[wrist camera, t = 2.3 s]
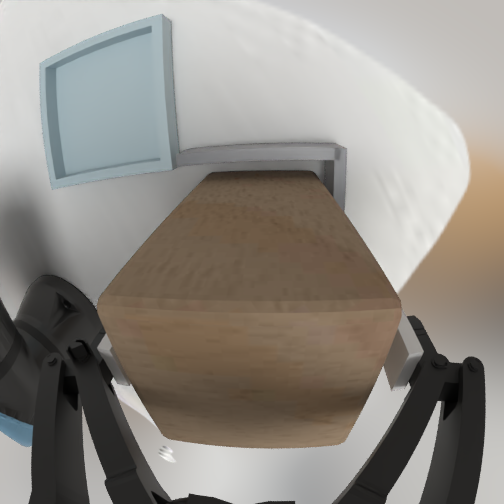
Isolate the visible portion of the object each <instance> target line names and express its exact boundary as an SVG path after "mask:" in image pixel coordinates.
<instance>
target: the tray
mask: <svg viewBox="0 0 504 504" xmlns="http://www.w3.org/2000/svg"><path fill="white" fill-rule="evenodd" d="M40 107H41V120H42V131H43V139H44V147H45V154H46V160H47V167H48V172H49V178H50V183H51V188H52V190H53V189H58V188H62V187H67V186H72V185H77V184H82V183H87V182H93V181H99V180H104V179H110V178H117V177H123V176H130V175H137V174H144V173H152V172H160V171H169V170H173V169H175V168H177V161H176V154H178V153H179V144H178V134H177V123H176V111H175V98H174V82H173V64H172V37H171V21H170V20H169V19H168V18H167V17H165V16H164V15H163V14H160V15H156V16H152V17H149V18H145V19H142V20H139V21H135V22H132V23H129V24H126V25H123V26H120V27H117V28H115V29H112V30H109V31H106V32H104V33H101V34H99V35H96V36H94V37H92V38H89V39H87V40H85V41H82V42H80V43H78V44H76V45H74V46H72V47H70V48H67V49H65V50H63V51H61V52H60V53H58V54H56V55H54V56H52V57H50V58H48V59H46V60H45V61H43V62H41V63H40Z"/></svg>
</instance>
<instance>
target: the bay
mask: <svg viewBox="0 0 504 504" xmlns="http://www.w3.org/2000/svg"><path fill="white" fill-rule="evenodd" d="M266 160H325V187H326V188H327V190H328V191H329V192H330V194H331V195H332V197H333V198H334V199H335V201H336V202H337V203H338V205H339V206H340V208H341V209H342V210H343V212H344V209H345V191H346V164H347V148H345V147H342V146H340V145H338V144H334V143H263V144H241V145H226V146H213V147H202V148H192V149H188V150H185V151H183V152H181V153H178V154H176V161H177V167H178V166H188V165H199V164H211V163H225V162H242V161H266Z"/></svg>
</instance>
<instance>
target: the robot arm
mask: <svg viewBox="0 0 504 504" xmlns="http://www.w3.org/2000/svg"><path fill="white" fill-rule="evenodd" d="M383 366H384V369H385V372H386V375H387V378H388V382H389V385H390V388H391V391H395V390H400V389H405V387H406V386H407V384H408V382H409V383H410V386H411V389H410V391H409V392H408V394H407V396H406V397H405V399H404V402H403V403H402V405H401V407H400V409H399V411H398V412H397V414H396V416H395V418H394V419H393V421H392V423H391V424H390V426H389V428H388V430H387V431H386V433H385V434H384V436H383V437H382V439H381V440H380V442H379V444H378V445H377V447H376V448H375V450H374V451H373V452H372V454H371V455H370V457H369V458H368V460H367V461H366V462H365V464H364V465H363V466H362V468H361V469H360V471H359V472H358V473H357V475H356V476H355V477H354V479H353V480H352V481H351V482H350V483H349V485H348V486H347V487H346V489H345V490H344V491H343V492H342V493H341V494H340V495H339V497H338V498H337V499H336V500H335V501H334V502H333V503H332V504H385V502H386V499H387V495H388V493H389V492H390V490H391V489H392V487H393V486H394V484H395V483H396V481H397V480H398V478H399V476H400V475H401V473H402V471H403V470H404V468H405V466H406V465H407V463H408V461H409V459H410V458H411V456H412V454H413V452H414V450H415V448H416V446H417V445H418V443H419V441H420V439H421V436H422V435H423V432H424V430H425V428H426V426H427V424H428V422H429V420H430V417H431V415H432V413H433V411H434V408H435V406H436V403H437V401H442V402H441V410H440V417H439V424H438V431H437V437H436V442H435V447H434V452H433V456H432V461H431V465H430V469H429V473H428V477H427V480H426V484H425V487H424V491H423V494H422V497H421V500H420V503H419V504H474V503H475V498H476V494H477V489H478V483H479V478H480V472H481V465H482V456H483V447H484V435H485V375H484V366H483V364H482V362H481V361H480V360H479V359H478V358H475V357H467V358H466V359H465V360H464V361H463V363H451V362H449V361H448V359H447V358H446V357H445V356H443V355H442V354H438V353H437V352H436V349H435V347H434V346H433V343H432V342H431V340H430V338H429V336H428V335H427V332H426V330H425V329H424V326H423V325H422V323H421V321H420V320H419V319H418V318H416V317H415V316H406V315H405V313H404V311H403V309H402V317H401V320H400V323H399V326H398V329H397V332H396V334H395V337H394V340H393V342H392V345H391V347H390V350H389V352H388V355H387V357H386V360H385V362H384V364H383ZM113 377H114V379H115V381H116V382H117V384H122V385H127V386H130V384H131V382H130V380H129V378H128V377H127V375H126V373H125V371H124V369H123V367H122V365H121V363H120V361H119V359H118V357H117V355H116V353H115V351H114V349H113V347H112V345H111V342H110V340H109V338H108V336H107V334H106V332H105V329H104V327H103V325H102V322H101V320H100V318H99V315H98V313H97V311H96V310H95V308H94V307H93V305H92V304H91V303H90V302H89V300H88V299H87V298H86V297H85V296H84V295H83V294H82V293H81V292H80V291H79V290H77V289H76V288H75V287H74V286H72V285H71V284H70V283H68V282H66V281H65V280H63V279H60V278H58V277H55V276H50V275H45V276H41V277H39V278H38V279H37V280H36V281H35V282H34V283H33V284H32V285H31V286H30V287H29V288H28V290H27V292H26V295H25V297H24V299H23V301H22V304H21V306H20V308H19V311H18V313H17V316H16V318H15V319H14V321H12V320H11V318H10V316H9V314H8V312H7V310H6V308H5V306H4V304H3V302H2V300H1V298H0V431H1V432H3V433H4V434H5V435H7V436H8V437H10V438H11V439H13V440H14V441H16V442H18V443H19V444H21V445H23V446H26V447H29V446H32V457H31V458H32V459H31V476H32V492H31V496H30V500H29V504H90V503H89V496H88V490H87V481H86V473H85V463H84V451H83V432H82V406H83V410H84V414H85V417H86V421H87V424H88V427H89V431H90V434H91V437H92V440H93V443H94V446H95V449H96V451H97V454H98V457H99V460H100V462H101V465H102V467H103V470H104V472H105V475H106V478H107V479H106V480H105V486H106V489H107V491H108V494H109V496H110V498H111V500H112V502H113V504H232V503H229V502H226V501H223V500H220V499H217V498H214V497H207V496H200V495H194V494H189V496H188V497H187V498H179V499H175V500H171V499H170V497H169V496H168V494H167V493H166V492H165V491H164V490H163V488H162V487H161V486H160V484H159V483H158V481H157V479H156V477H155V476H154V474H153V472H152V470H151V469H150V467H149V465H148V463H147V461H146V459H145V457H144V455H143V454H142V452H141V450H140V448H139V446H138V444H137V442H136V440H135V437H134V435H133V433H132V431H131V429H130V426H129V425H128V422H127V420H126V417H125V415H124V413H123V410H122V408H121V405H120V403H119V400H118V398H117V395H116V393H115V390H114V387H113V385H112V383H111V380H112V378H113ZM257 504H295V501H268V502H262V503H257Z"/></svg>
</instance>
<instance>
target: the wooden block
mask: <svg viewBox="0 0 504 504" xmlns="http://www.w3.org/2000/svg"><path fill="white" fill-rule="evenodd" d="M97 313H98V315H99V318H100V320H101V322H102V325H103V327H104V329H105V332H106V334H107V336H108V338H109V340H110V342H111V345H112V347H113V349H114V351H115V353H116V355H117V357H118V359H119V361H120V363H121V365H122V367H123V369H124V371H125V373H126V375H127V377H128V378H129V380H130V382H131V384H132V386H133V387H134V389H135V391H136V393H137V394H138V396H139V398H140V400H141V401H142V403H143V405H144V406H145V408H146V410H147V411H148V413H149V414H150V416H151V418H152V419H153V421H154V422H155V424H156V425H157V427H158V428H159V430H160V431H161V433H162V434H163V436H165V437H166V438H168V439H171V440H177V441H183V442H190V443H198V444H206V445H215V446H226V447H241V448H306V447H321V446H332V445H339V444H341V443H343V442H344V441H345V440H346V438H347V437H348V435H349V433H350V431H351V430H352V428H353V426H354V424H355V422H356V420H357V419H358V417H359V415H360V413H361V411H362V409H363V407H364V405H365V403H366V401H367V399H368V397H369V395H370V393H371V391H372V389H373V387H374V385H375V382H376V380H377V378H378V376H379V374H380V371H381V369H382V367H383V364H384V362H385V360H386V357H387V355H388V352H389V350H390V347H391V345H392V342H393V340H394V337H395V334H396V332H397V329H398V326H399V323H400V320H401V317H402V307H401V300H400V299H399V297H398V295H397V294H396V292H395V290H394V288H393V287H392V285H391V283H390V282H389V280H388V278H387V277H386V275H385V274H384V272H383V270H382V269H381V267H380V265H379V264H378V262H377V261H376V259H375V258H374V256H373V254H372V253H371V251H370V250H369V248H368V247H367V245H366V244H365V242H364V241H363V239H362V238H361V236H360V235H359V233H358V232H357V230H356V229H355V227H354V226H353V225H352V223H351V222H350V220H349V219H348V217H347V216H346V215H345V213H344V212H343V210H342V209H341V208H340V206H339V205H338V203H337V202H336V201H335V199H334V198H333V197H332V195H331V194H330V192H329V191H328V190H327V188H326V187H325V186H324V185H323V183H322V182H321V181H320V179H319V178H318V177H317V175H316V174H315V173H314V172H312V171H241V172H216V173H210V174H208V175H207V176H206V177H205V178H204V179H203V180H202V181H201V182H200V183H199V184H198V185H197V186H196V187H195V188H194V189H193V190H192V192H191V193H190V194H189V195H188V196H187V197H186V198H185V199H184V200H183V201H182V202H181V203H180V204H179V205H178V206H177V207H176V208H175V209H174V210H173V211H172V212H171V214H170V215H169V216H168V217H167V218H166V219H165V220H164V221H163V222H162V223H161V224H160V225H159V227H158V228H157V229H156V230H155V231H154V232H153V233H152V234H151V236H150V237H149V238H148V239H147V240H146V241H145V242H144V243H143V245H142V246H141V247H140V248H139V249H138V250H137V252H136V253H135V254H134V255H133V256H132V257H131V259H130V260H129V261H128V262H127V263H126V265H125V266H124V267H123V268H122V269H121V271H120V272H119V273H118V274H117V275H116V277H115V278H114V279H113V280H112V282H111V283H110V284H109V285H108V287H107V288H106V289H105V291H104V292H103V293H102V294H101V296H100V297H99V299H98V303H97Z"/></svg>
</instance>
